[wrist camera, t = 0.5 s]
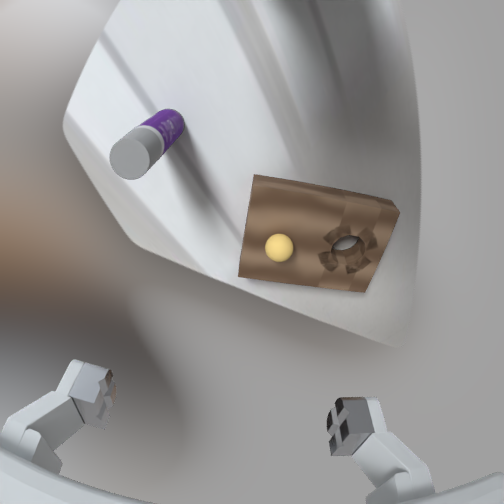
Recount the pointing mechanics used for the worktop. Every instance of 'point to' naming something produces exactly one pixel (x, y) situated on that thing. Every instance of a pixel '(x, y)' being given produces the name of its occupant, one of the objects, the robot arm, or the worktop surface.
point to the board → (315, 234)
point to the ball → (279, 247)
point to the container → (146, 144)
